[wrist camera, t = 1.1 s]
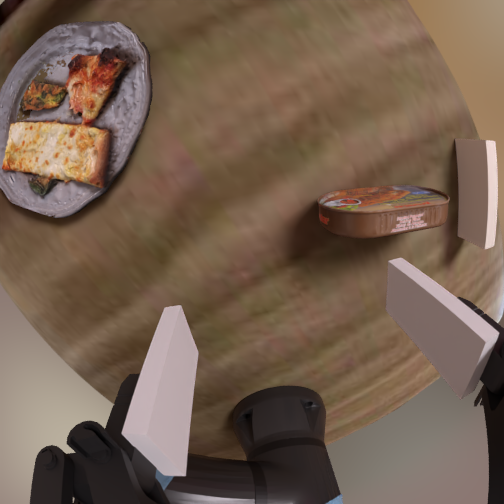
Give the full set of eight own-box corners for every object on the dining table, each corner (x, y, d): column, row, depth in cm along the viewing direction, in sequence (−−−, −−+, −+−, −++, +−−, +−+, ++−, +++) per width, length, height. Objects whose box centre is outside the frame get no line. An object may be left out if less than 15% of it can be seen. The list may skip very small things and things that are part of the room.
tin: (418, 183, 28) (465, 194, 20) (418, 208, 29) (463, 224, 21) (306, 193, 28) (335, 208, 20) (309, 222, 29) (337, 247, 21)
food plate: (189, 34, 21) (183, 20, 17) (121, 234, 28) (108, 244, 24) (35, 32, 17) (21, 26, 14) (-9, 186, 24) (-25, 190, 21)
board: (467, 233, 31) (494, 245, 25) (457, 236, 31) (484, 249, 25) (465, 139, 26) (495, 141, 21) (454, 138, 26) (485, 140, 21)
